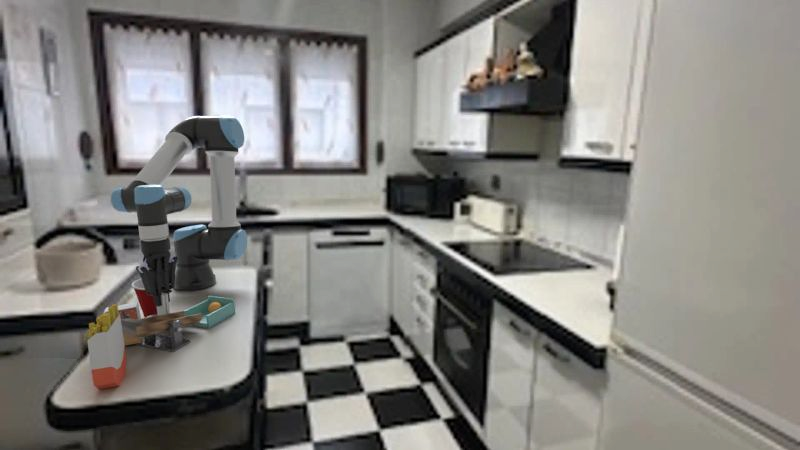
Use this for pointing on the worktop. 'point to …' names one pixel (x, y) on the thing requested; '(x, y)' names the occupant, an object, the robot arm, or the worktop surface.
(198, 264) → the robot arm
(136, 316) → the small box
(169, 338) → the stand
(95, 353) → the french fries container
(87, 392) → the worktop surface
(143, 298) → the plastic cup
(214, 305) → the ball
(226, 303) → the tray
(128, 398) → the worktop surface
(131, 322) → the lever
